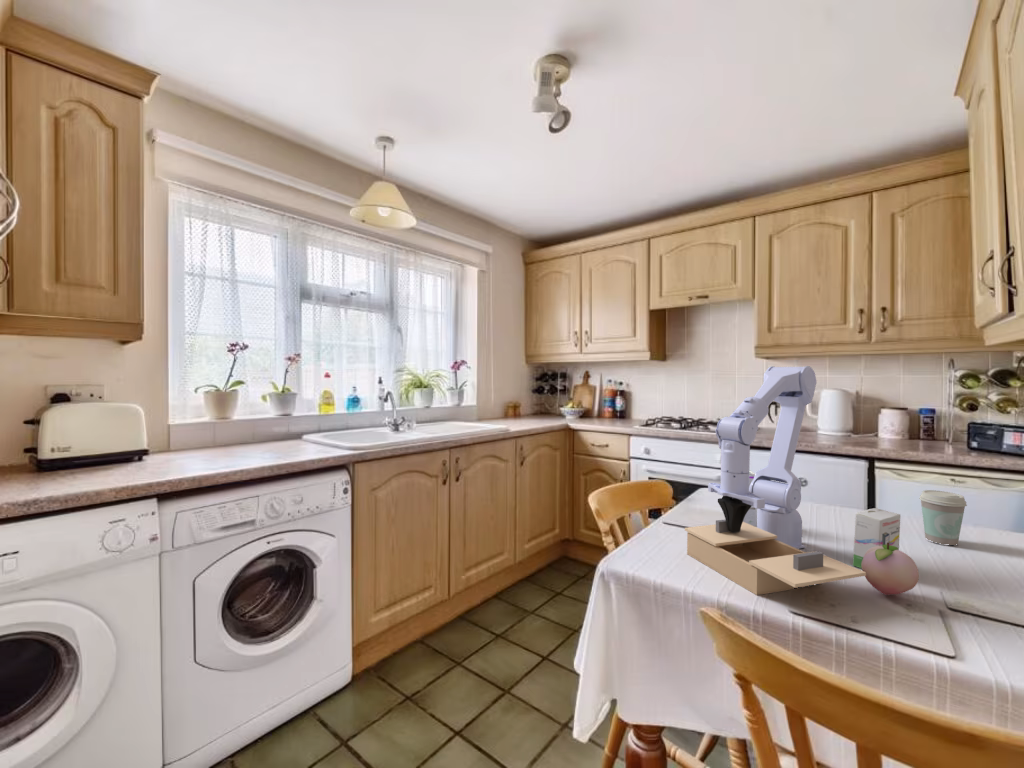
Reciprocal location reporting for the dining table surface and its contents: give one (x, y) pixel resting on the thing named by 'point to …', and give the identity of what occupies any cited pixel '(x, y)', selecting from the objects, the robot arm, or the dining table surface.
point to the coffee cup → (942, 515)
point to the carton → (742, 562)
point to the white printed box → (752, 512)
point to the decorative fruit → (889, 569)
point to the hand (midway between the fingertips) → (734, 531)
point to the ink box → (874, 531)
